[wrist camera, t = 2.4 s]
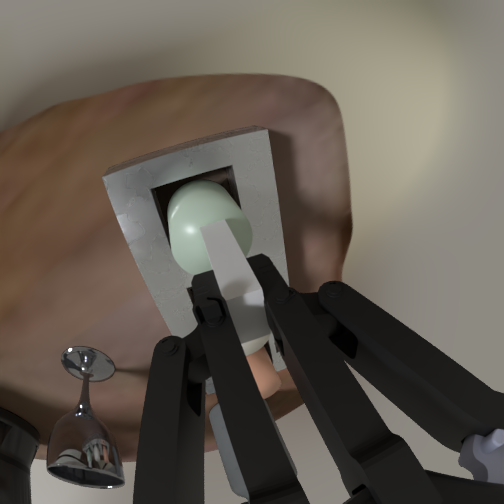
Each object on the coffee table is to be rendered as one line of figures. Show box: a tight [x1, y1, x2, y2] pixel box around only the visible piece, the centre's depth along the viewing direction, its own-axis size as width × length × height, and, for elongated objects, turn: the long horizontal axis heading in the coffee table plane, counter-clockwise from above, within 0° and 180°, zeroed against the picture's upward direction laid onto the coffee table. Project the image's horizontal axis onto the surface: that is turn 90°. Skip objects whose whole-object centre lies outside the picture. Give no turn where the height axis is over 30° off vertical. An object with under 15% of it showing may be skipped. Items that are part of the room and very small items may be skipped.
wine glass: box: [47, 346, 125, 489], centre depth 22 cm, size 8×8×15 cm
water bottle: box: [209, 399, 297, 504], centre depth 30 cm, size 10×10×28 cm
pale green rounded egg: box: [167, 179, 253, 275], centre depth 19 cm, size 5×5×5 cm
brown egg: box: [246, 346, 281, 399], centre depth 29 cm, size 5×5×5 cm
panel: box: [102, 126, 289, 394], centre depth 27 cm, size 12×28×3 cm, turn 10°
